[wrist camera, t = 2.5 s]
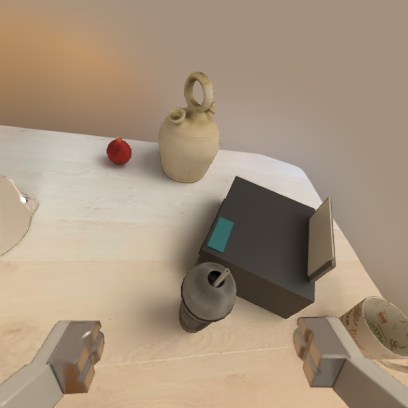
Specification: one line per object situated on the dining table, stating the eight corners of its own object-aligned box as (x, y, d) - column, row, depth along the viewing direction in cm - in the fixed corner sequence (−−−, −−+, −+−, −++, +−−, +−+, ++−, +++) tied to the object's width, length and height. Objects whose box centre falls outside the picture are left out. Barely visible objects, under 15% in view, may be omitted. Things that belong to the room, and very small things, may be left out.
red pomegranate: (125, 173, 56) (124, 147, 51) (103, 167, 56) (100, 139, 51) (135, 161, 61) (135, 135, 55) (114, 154, 60) (112, 128, 55)
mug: (327, 305, 44) (364, 285, 37) (392, 351, 41) (446, 338, 34) (318, 344, 39) (359, 329, 32) (391, 400, 35) (456, 398, 28)
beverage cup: (214, 299, 40) (258, 237, 26) (212, 345, 35) (264, 302, 21) (174, 292, 39) (196, 225, 25) (166, 339, 34) (188, 288, 20)
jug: (168, 192, 55) (183, 88, 37) (148, 155, 64) (153, 55, 46) (219, 182, 62) (253, 91, 44) (195, 150, 70) (216, 61, 53)
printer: (189, 273, 42) (208, 224, 31) (223, 201, 58) (244, 151, 46) (286, 319, 40) (343, 284, 29) (294, 232, 56) (334, 187, 44)
